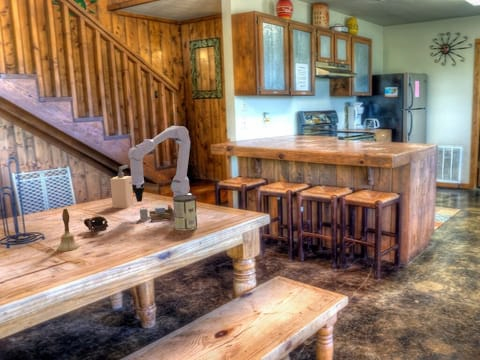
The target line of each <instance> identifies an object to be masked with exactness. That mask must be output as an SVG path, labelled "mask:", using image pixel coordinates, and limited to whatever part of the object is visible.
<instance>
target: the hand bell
mask: <svg viewBox="0 0 480 360" xmlns="http://www.w3.org/2000/svg"><path fill="white" fill-rule="evenodd" d="M61 215H62V216H61V217H62V222H63V224H64V233H63V234H61V236H60V243H59V245H58V246H57V248H56V249H57V250H58V251H60V252H67V251H74V250H77V249H79V248H80V244H79V243H77V241H76V240H75V236H74V234H73V233H72V232H70V226H69V223H70V213H69V211H68V209H67V208H63V210H62V214H61Z"/></svg>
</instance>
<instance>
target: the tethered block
mask: <svg viewBox="0 0 480 360" xmlns="http://www.w3.org/2000/svg"><path fill="white" fill-rule="evenodd" d="M154 208H155V209H154V210H155V213H156V214H162V213H165V209H166V207H165V205H158V206H154ZM139 217H140V221H141V222H142V221H148V220H149V219H151V216H150V215H148V207H141V208H140V207H139Z"/></svg>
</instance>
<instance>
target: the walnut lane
mask: <svg viewBox="0 0 480 360" xmlns="http://www.w3.org/2000/svg"><path fill="white" fill-rule="evenodd" d="M173 209H174V208H173V206H171V204H168V205H167V208H165V213H162V214H156V213H155V209H154V210H148V211H149V216H151V218H150V221H151V222H158V221H166V220H174V210H173Z"/></svg>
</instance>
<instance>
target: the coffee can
mask: <svg viewBox="0 0 480 360" xmlns="http://www.w3.org/2000/svg"><path fill="white" fill-rule="evenodd" d="M172 202H173V209H174V210H173V220H174V229H175V230H176V231H182V232H184V231H192V230H196V229H197V228H198V217H197V216H198V214H197V196H196V195H180V196H175V197H174V196H173V198H172Z"/></svg>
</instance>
